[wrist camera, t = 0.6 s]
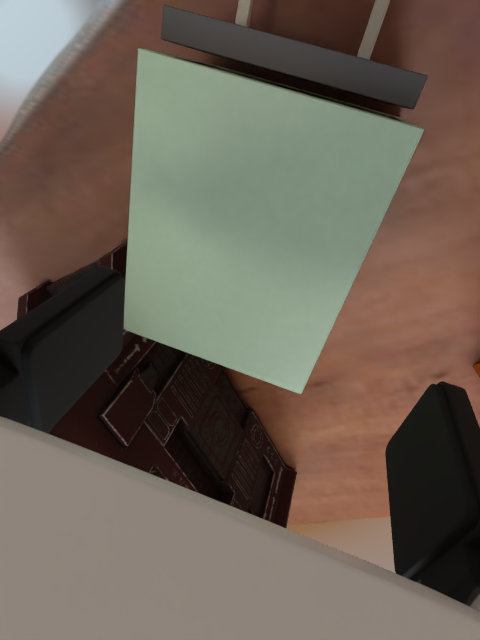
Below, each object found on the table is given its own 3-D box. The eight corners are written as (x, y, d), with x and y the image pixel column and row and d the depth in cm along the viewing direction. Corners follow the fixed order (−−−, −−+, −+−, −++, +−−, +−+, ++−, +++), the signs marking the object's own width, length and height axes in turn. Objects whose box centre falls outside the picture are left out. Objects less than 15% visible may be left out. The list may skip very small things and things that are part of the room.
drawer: (242, -112, 19) (181, -223, 12) (465, -61, 17) (529, -154, 11) (186, 249, 30) (140, 291, 24) (318, 294, 29) (308, 351, 22)
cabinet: (210, 63, 24) (137, 46, 16) (400, 117, 22) (425, 128, 14) (179, 272, 32) (122, 329, 24) (314, 319, 31) (301, 395, 23)
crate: (24, 292, 39) (-240, 452, 22) (155, 228, 30) (-118, 412, 13) (186, 499, 52) (99, 697, 35) (311, 496, 43) (273, 759, 26)
